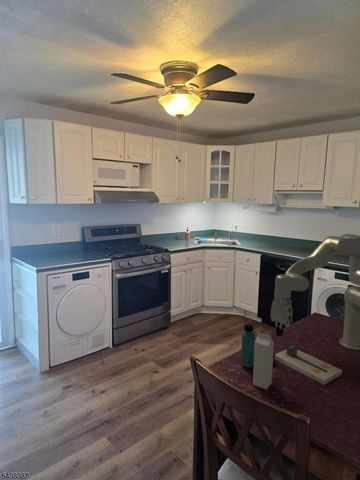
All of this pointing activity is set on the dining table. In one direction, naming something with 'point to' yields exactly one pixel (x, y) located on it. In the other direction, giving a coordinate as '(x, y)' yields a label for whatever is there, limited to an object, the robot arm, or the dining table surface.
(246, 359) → the beverage bottle
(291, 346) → the fader
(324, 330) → the dining table surface
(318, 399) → the dining table surface
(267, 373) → the milk
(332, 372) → the slider board
